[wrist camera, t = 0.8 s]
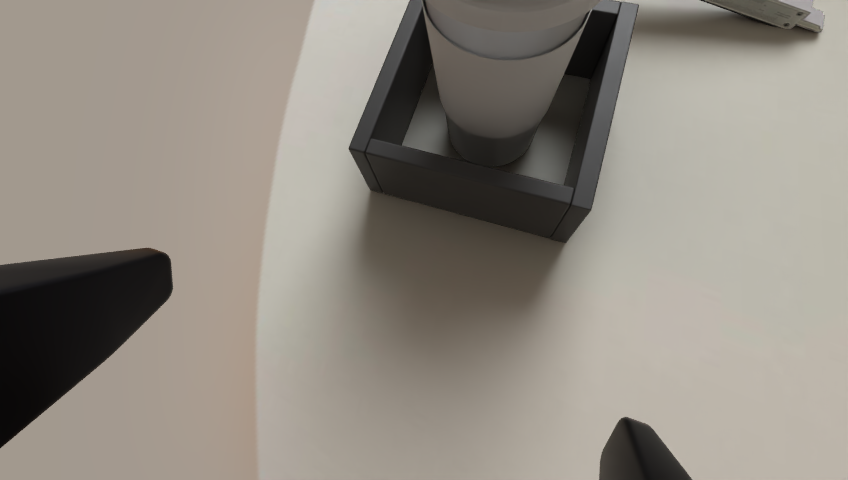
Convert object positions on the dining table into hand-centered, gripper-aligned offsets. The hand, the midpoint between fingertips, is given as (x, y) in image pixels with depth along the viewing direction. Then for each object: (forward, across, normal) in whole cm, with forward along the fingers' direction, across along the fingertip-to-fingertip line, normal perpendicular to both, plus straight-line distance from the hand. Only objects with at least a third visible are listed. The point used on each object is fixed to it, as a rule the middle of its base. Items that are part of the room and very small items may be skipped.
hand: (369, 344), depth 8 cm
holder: (+18, +1, -2) cm, 18 cm away
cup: (+18, +1, -1) cm, 18 cm away
